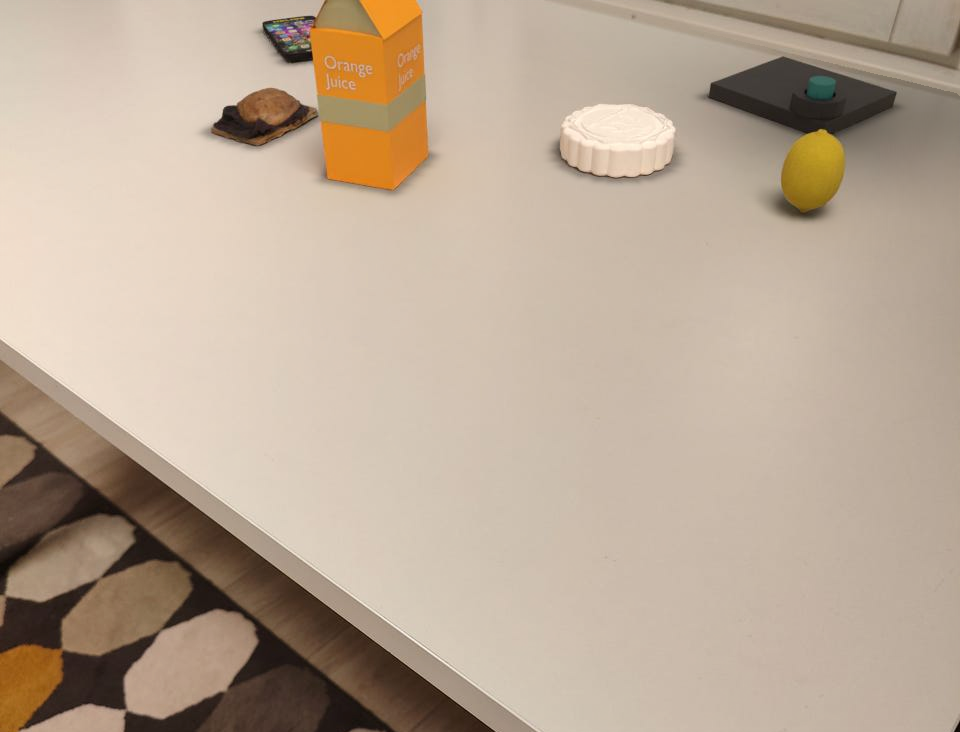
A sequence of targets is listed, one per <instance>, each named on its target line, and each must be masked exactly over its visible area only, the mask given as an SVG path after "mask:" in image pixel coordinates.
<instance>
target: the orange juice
mask: <svg viewBox="0 0 960 732" xmlns="http://www.w3.org/2000/svg"><path fill="white" fill-rule="evenodd" d="M423 13H424V12H423V10H422V8H421V6H420V5H419V3H418V1H417V0H324V1H323V2H322V5H321V7H320V9H319V11H318V13H317V15H316V16H315V17H316V19H315V21H314V23H313V25H312V27H311V28H310V29H309V30H310V31H309V32H310V38H311V46H312V54H313V59H312V62H313V69H314V79H315V85H316V100H317V108H318V115H319V122H320V126H321V136H322V143H323V152H324V160H325V168H326V176H327V179H328V180H332V181H338V182H345V183H351V184H355V185H361V186H367V187H373V188H377V189H384V190H389V191H395V189H397V187H398V186H400V185H401V184H402V183H403V182H404V181H405V180H406V179H407V178H408V177H409V176H410V175H411V174H412V173H413V172H414V171H415V170H416V169H417V168H418V167H419V166H420V165H421V164H422V163H423V162H424V161H425V160H426V159H427V158H428V157H429V141H428V120H427V119H428V118H427V117H428V116H427V86H426V72H425V55H424V33H423V32H424V31H423V30H424V28H423Z"/></svg>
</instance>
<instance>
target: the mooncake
mask: <svg viewBox="0 0 960 732" xmlns="http://www.w3.org/2000/svg"><path fill="white" fill-rule="evenodd" d="M676 135H677V128H676V127H675V126H674V123H673V121H672V120H671V119H669V118H667V117H666V116H665V114H663V113H659V112H655V111H654V110H652V109H651V108H650V107H645V106H639V105H635V104H634V103H627V104H606V103H598V104H595V105H592V106H584V107H583V108H582V109H579V110H575V111H574V110H573V112H571V114H570V115H567V116H565V117H564V120H563V122H562V123H561V124H560V137H559V140H560V141H559V151H560V153H561V155H560V156H561V159H562V160H564V161H566V162H567V164H568V165H569V166H570V167H573V168H578V170H579V171H581V172H582V173H591V174H593V175H594V176H600V177H604V176H608V177H611V178H621V177H627V178H635V177H638V176H640V175H643V176H647V175H650V174H652V173H653V172H655V171H661V170H663V169H664V168H665V166H666V165H668V164H670V163H671V162H672V156H673V155H674V149H675V148H674V147H675V142H676Z"/></svg>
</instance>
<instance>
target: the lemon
mask: <svg viewBox="0 0 960 732" xmlns="http://www.w3.org/2000/svg"><path fill="white" fill-rule="evenodd" d="M845 169H846V156H845V150H844V148H843V145H842V143H841V142H840V141H839V139H838V138H837V137H836V136H834V135H833V134H829V133H827V131H826V130H824V129H820V130H818V131H817V132H812V133H806V134H804V135H803V136H801V137H800V138H798V139H797V140H796V141H795V142H794V143H793V144H792V146H791V147H790V149H789V150H788V152H787V154H786V156H785V158H784V160H783V163H782V168H781V174H780V175H781V176H780V186H781V191H782V193H783V195H784V197H785V199H786V200H787V201H788V202H789V204H791V205H792V206H795V207H796V208H797V209H798V211H799V212H800V213H802V214H803V213H804V214H805V213H807V212H809V211H810V210H813V209H818V208H821V207H822V206H825V205H826V204H828V202H830V201H831V200H832V199H833V198H834V197H835V196H836V194H837V193H838V192H839V189H840V187H841V185H842V182H843V178H844V175H845Z"/></svg>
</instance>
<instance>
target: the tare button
mask: <svg viewBox="0 0 960 732" xmlns="http://www.w3.org/2000/svg"><path fill="white" fill-rule="evenodd" d="M835 85H836V80H835V79H833V78H830V77H826V76H814V77H811V78H810V80H809V84H808V89H807V93H806V95H807V96H809V97H812V98H817V99H831V98H832V97H833V93H834V89H835Z"/></svg>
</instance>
